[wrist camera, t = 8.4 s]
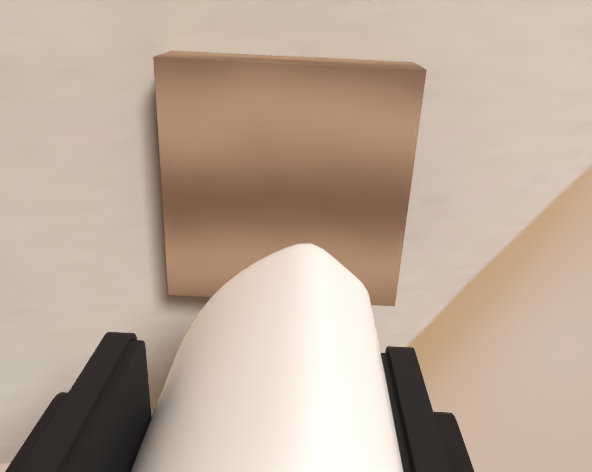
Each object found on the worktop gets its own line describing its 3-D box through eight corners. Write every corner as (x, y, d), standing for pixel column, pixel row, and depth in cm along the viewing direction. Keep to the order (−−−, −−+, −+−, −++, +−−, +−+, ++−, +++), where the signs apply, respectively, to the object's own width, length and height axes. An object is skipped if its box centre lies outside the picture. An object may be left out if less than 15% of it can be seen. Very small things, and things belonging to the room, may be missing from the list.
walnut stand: (171, 51, 24) (153, 57, 21) (413, 62, 24) (426, 69, 21) (181, 266, 29) (168, 295, 26) (386, 277, 28) (394, 305, 26)
